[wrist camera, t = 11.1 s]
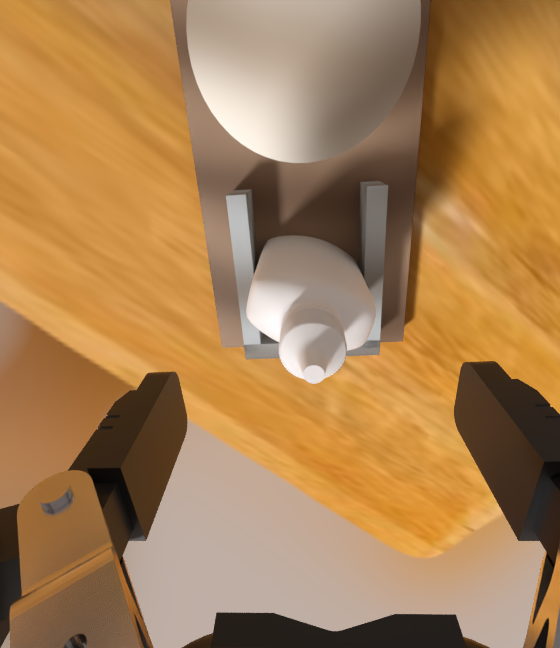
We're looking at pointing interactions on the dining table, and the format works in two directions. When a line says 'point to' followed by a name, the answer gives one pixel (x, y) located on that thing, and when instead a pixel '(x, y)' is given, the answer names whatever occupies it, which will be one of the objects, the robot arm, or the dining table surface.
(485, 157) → the dining table surface
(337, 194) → the board
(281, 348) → the eye dropper bottle
